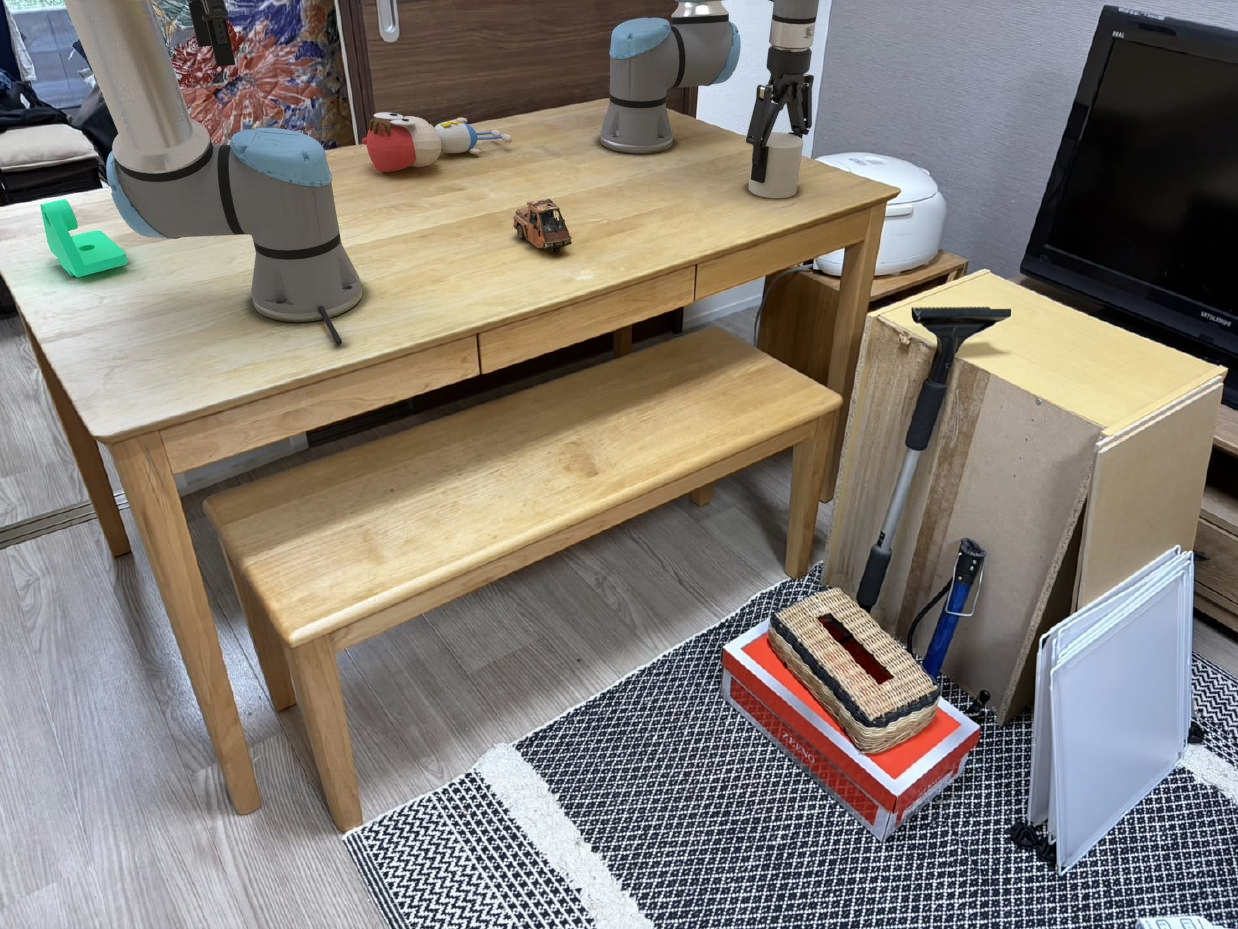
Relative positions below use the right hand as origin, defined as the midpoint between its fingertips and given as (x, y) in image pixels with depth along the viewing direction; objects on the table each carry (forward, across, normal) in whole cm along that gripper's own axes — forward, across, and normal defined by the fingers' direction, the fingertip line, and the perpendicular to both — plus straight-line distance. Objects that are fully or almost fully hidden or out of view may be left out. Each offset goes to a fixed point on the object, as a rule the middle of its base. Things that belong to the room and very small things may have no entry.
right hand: (774, 174), depth 173 cm
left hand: (-22, -77, +55) cm, 97 cm away
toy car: (+3, -49, +10) cm, 50 cm away
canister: (+3, 0, 0) cm, 3 cm away
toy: (+3, -37, +54) cm, 66 cm away
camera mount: (+3, -106, +50) cm, 117 cm away
